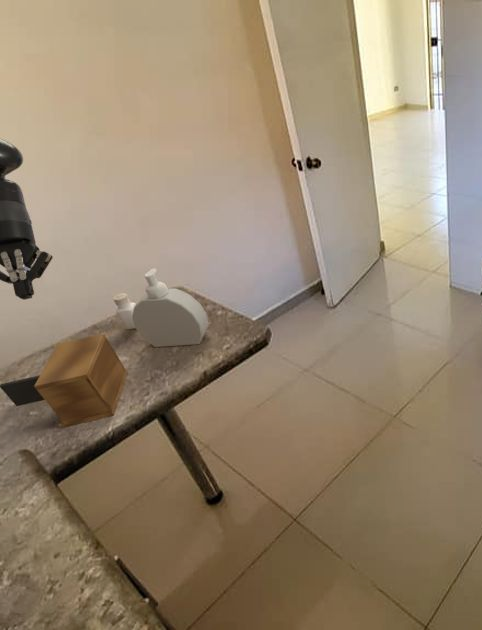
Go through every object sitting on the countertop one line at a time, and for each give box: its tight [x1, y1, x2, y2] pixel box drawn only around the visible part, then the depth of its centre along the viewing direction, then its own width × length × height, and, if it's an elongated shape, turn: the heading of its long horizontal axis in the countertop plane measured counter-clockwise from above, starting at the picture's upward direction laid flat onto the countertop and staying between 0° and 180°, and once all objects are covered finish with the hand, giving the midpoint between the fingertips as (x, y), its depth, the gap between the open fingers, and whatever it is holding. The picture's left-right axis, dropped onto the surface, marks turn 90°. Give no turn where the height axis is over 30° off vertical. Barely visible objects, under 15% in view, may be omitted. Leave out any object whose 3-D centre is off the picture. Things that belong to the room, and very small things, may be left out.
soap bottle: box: [132, 267, 210, 348], centre depth 107 cm, size 16×5×20 cm, turn 93°
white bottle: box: [112, 292, 137, 330], centre depth 117 cm, size 4×4×10 cm
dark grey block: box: [0, 374, 45, 407], centre depth 90 cm, size 10×7×9 cm
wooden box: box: [34, 333, 128, 429], centre depth 94 cm, size 10×14×12 cm
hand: (26, 298), depth 96 cm, fingers closed
